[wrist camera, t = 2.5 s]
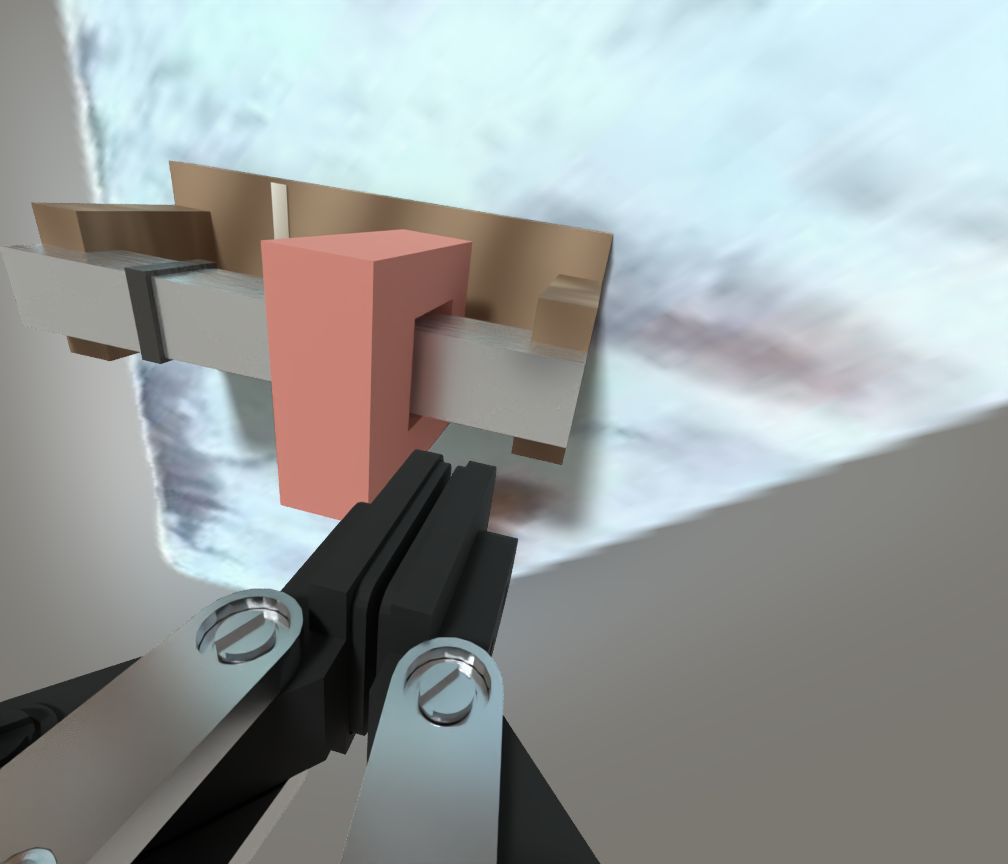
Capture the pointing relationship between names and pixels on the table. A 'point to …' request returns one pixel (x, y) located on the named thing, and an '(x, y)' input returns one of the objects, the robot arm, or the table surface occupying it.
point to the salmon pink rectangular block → (352, 356)
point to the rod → (244, 337)
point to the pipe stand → (329, 211)
